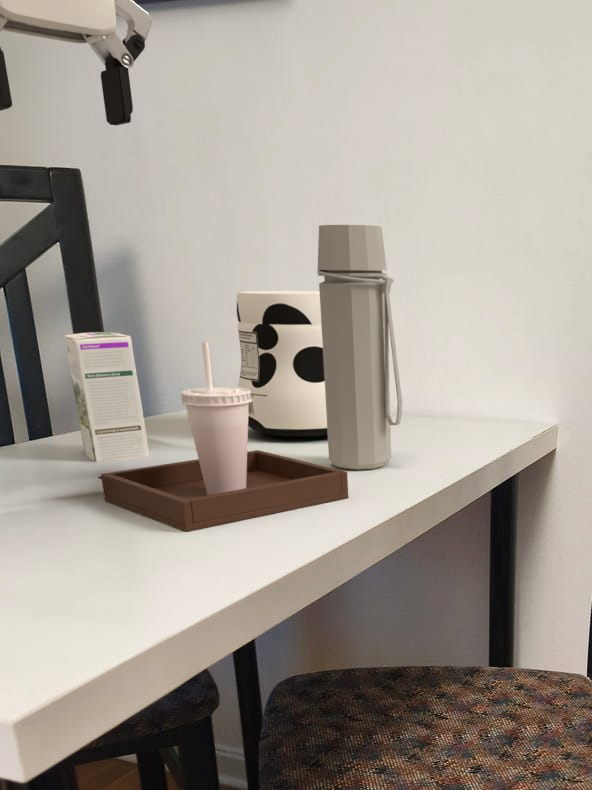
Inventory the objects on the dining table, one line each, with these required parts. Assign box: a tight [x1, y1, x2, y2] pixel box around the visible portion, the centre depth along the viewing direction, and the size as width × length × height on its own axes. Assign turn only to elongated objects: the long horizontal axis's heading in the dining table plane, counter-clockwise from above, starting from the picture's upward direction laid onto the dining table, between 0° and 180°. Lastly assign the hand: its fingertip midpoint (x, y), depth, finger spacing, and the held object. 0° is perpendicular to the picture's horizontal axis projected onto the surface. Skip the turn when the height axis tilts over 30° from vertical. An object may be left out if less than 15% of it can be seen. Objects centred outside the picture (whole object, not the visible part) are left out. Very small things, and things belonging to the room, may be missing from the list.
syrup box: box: [64, 331, 150, 479], centre depth 95 cm, size 6×6×14 cm
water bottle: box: [316, 224, 403, 471], centre depth 97 cm, size 9×8×25 cm
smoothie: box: [180, 341, 252, 495], centre depth 84 cm, size 6×6×14 cm
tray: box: [100, 449, 349, 532], centre depth 87 cm, size 18×16×3 cm
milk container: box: [236, 290, 328, 438], centre depth 119 cm, size 17×17×18 cm
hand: (62, 116), depth 73 cm, fingers open, 9 cm apart
